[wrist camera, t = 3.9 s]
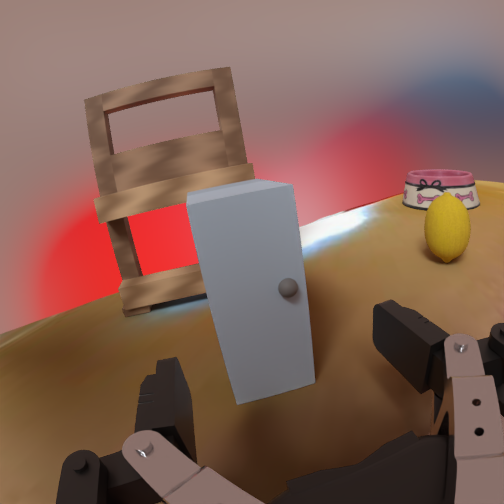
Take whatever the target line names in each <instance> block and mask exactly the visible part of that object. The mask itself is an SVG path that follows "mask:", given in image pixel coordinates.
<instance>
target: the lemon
mask: <svg viewBox="0 0 504 504" xmlns="http://www.w3.org/2000/svg"><path fill="white" fill-rule="evenodd" d="M424 230H425V238H426V242H427V244H428V246H429V248H430V250H431V251H432V252H433V253H434V254H435V255H436V256H438V257H440V258H441V259H442V260H443V261H444V262H445V263H449V262H450V261H451V260H452V259H453V258H456V257H458V256H460V255H461V254H462V253H463V252H464V250H465V249H466V247H467V245H468V242H469V238H470V230H471V226H470V218H469V214H468V211H467V209H466V207H465V205H464V204H463V203H462V202H461V201H460V200H459V199H458V198H456V197H454V196H452V195H451V193H450V192H444V193H443V195H441V196H439V197H437V198H436V199H435V200H433V201H432V202H431V204H430V205H429V207H428V210H427V213H426V217H425V226H424Z"/></svg>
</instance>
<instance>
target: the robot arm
mask: <svg viewBox="0 0 504 504" xmlns="http://www.w3.org/2000/svg"><path fill="white" fill-rule="evenodd" d="M373 342H374V345H375V347H376V349H377V350H378V351H379V352H380V353H381V354H382V355H383V356H384V357H385V358H386V359H387V360H388V361H389V362H390V363H391V364H392V365H393V366H394V367H395V368H396V369H397V370H398V371H399V372H400V373H401V374H402V375H403V376H404V377H405V378H406V379H407V380H408V381H409V383H410V384H411V385H412V386H413V387H414V388H415V389H416V390H417V391H418V392H419V393H420V394H422V393H424V392H426V391H428V390H429V389H432V390H433V394H432V412H431V431H430V435H426V436H421V437H417V436H416V435H415V434H414V433H413V431H410V432H408V433H406V434H404V435H402V436H400V437H398V438H396V439H394V440H392V441H390V442H388V443H386V444H384V445H383V446H382V447H380V448H379V449H378V450H377V451H375V452H374V453H373V454H371V455H370V456H369V457H367V458H366V459H364V460H363V461H362V462H360V463H358V464H356V465H351V466H346V467H340V468H334V469H327V470H320V471H317V472H314V473H311V474H308V475H305V476H302V477H299V478H295V479H292V480H289V481H286V482H287V487H288V490H286V491H284V492H283V493H281V494H279V495H278V496H276V497H275V498H273V499H272V500H271V501H270V502H269V503H268V504H504V438H503V430H502V422H501V415H502V416H503V417H504V323H498V324H495V325H494V326H493V327H492V328H491V332H490V336H489V337H488V338H484V339H480V340H477V341H476V340H475V339H474V338H473V337H471V336H469V335H466V334H453V335H451V336H450V335H449V334H448V333H446V332H445V331H444V330H442V329H441V328H439V327H438V326H437V325H435V324H434V323H432V322H429V320H428V319H427V318H425V317H423V316H422V315H421V314H420V313H418V312H417V311H415V310H412V309H409V308H406V307H402V306H400V305H399V304H398V303H396V302H395V301H393V300H388V301H385V302H382V303H379V304H376V305H375V306H374V308H373ZM139 395H140V396H139V401H138V403H139V404H138V408H137V415H136V423H135V432H134V434H132V435H131V436H129V437H128V438H127V439H126V441H125V442H124V444H123V447H122V450H121V451H119V452H116V453H113V454H110V455H107V456H104V457H101V458H99V457H98V456H97V455H96V454H95V453H93V452H92V451H89V450H79V451H76V452H74V453H72V454H70V455H69V456H68V457H67V458H66V459H65V461H64V463H63V466H62V471H61V476H60V481H59V487H58V493H57V499H56V504H156V503H158V502H161V501H162V502H163V503H164V504H265V503H263V502H261V501H259V500H258V499H256V498H254V497H253V496H251V495H250V494H248V493H246V492H245V491H243V490H242V489H240V488H239V487H237V486H236V485H234V484H232V483H231V482H229V481H228V480H227V479H225V478H224V477H222V476H221V475H219V474H218V473H216V472H215V471H214V470H212V469H211V468H209V467H207V466H203V467H200V466H198V465H197V457H196V446H195V435H194V423H193V410H192V399H191V394H190V390H189V387H188V385H187V382H186V379H185V377H184V374H183V372H182V369H181V366H180V363H179V361H178V359H177V357H174V358H169V359H163V360H158V361H157V366H156V374H153V375H147V377H146V378H145V379H144V381H143V382H142V384H141V387H140V394H139ZM500 414H501V415H500Z"/></svg>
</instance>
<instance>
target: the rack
mask: <svg viewBox="0 0 504 504" xmlns="http://www.w3.org/2000/svg"><path fill="white" fill-rule="evenodd" d="M212 90H213V93H214V99H215V105H216V111H217V115H218V122H219V127H220V130H219V131H214V132H208V133H203V134H198V135H193V136H188V137H183V138H178V139H173V140H169V141H164V142H160V143H156V144H152V145H148V146H144V147H140V148H136V149H132V150H128V151H125V152H121V153H117V154H114V150H113V144H112V138H111V131H110V125H109V118H108V114H110V113H113V112H117V111H121V110H124V109H128V108H132V107H135V106H139V105H143V104H147V103H151V102H156V101H160V100H165V99H169V98H174V97H179V96H184V95H189V94H195V93H200V92H206V91H212ZM84 101H85V109H86V117H87V125H88V132H89V139H90V145H91V150H92V157H93V162H94V168H95V173H96V178H97V183H98V188H99V192H100V197H99V198H96V199H94V203H95V207H96V212H97V216H98V220H99V223H104V222H106V223H107V227H108V231H109V235H110V238H111V242H112V246H113V249H114V253H115V256H116V260H117V263H118V267H119V270H120V273H121V277H122V280H123V281H122V283H121V285H120V287H119V288H118V290H119V293H120V296H121V298H122V301H123V304H124V306H123V308H122V310H123V313H124V315H125V317H128V316H133V315H138V314H142V313H147V312H150V311H151V307H152V304H157V303H162V302H166V301H171V300H176V299H180V298H185V297H189V296H194V295H198V294H203V293H206V290H205V286H204V281H203V277H202V273H201V269H200V265H199V263H198V264H194V265H189V266H185V267H180V268H176V269H172V270H167V271H163V272H158V273H154V274H149V275H145V276H143V274H142V271H141V268H140V264H139V260H138V256H137V253H136V249H135V245H134V242H133V238H132V234H131V230H130V226H129V222H128V218H127V216H131V215H135V214H139V213H143V212H147V211H151V210H155V209H160V208H164V207H168V206H172V205H177V204H181V203H186V202H187V193H188V192H193V191H197V190H202V189H207V188H211V187H216V186H221V185H226V184H231V183H237V182H242V181H247V180H253V179H255V176H254V170H253V165H252V163H247V157H246V152H245V146H244V141H243V135H242V129H241V124H240V118H239V113H238V108H237V102H236V96H235V90H234V85H233V80H232V74H231V69H230V67H225V68H217V69H210V70H203V71H197V72H191V73H186V74H181V75H175V76H171V77H166V78H161V79H156V80H152V81H148V82H144V83H140V84H136V85H132V86H128V87H124V88H121V89H117V90H114V91H110V92H108V93H104V94H101V95H98V96H94V97H92V98H88V99H85V100H84Z"/></svg>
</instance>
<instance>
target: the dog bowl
mask: <svg viewBox="0 0 504 504" xmlns="http://www.w3.org/2000/svg"><path fill="white" fill-rule="evenodd" d="M444 192H450V193H451V195H452V196H454V197H456V198H458V199H459V200H460V201H461V202H462V203H463V204H464V205H465V207H466V209H467V210H469V209H474V208H476V207H478V206H479V205H480V202H479V198H478V194H477V191H476V187H475V182H474V179H473V175H472V174H471V173H469V172H465V171H458V170H417V171H411V172H409V173H408V174H407V178H406V181H405V189H404V195H403V204H404V205H405V206H407V207H410V208H413V209H419V210H426V211H427V210H428V207H429V205H430V204H431V202H432V201H433V200H435V199H436V198H437V197H439V196H441V195H443V193H444Z"/></svg>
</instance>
